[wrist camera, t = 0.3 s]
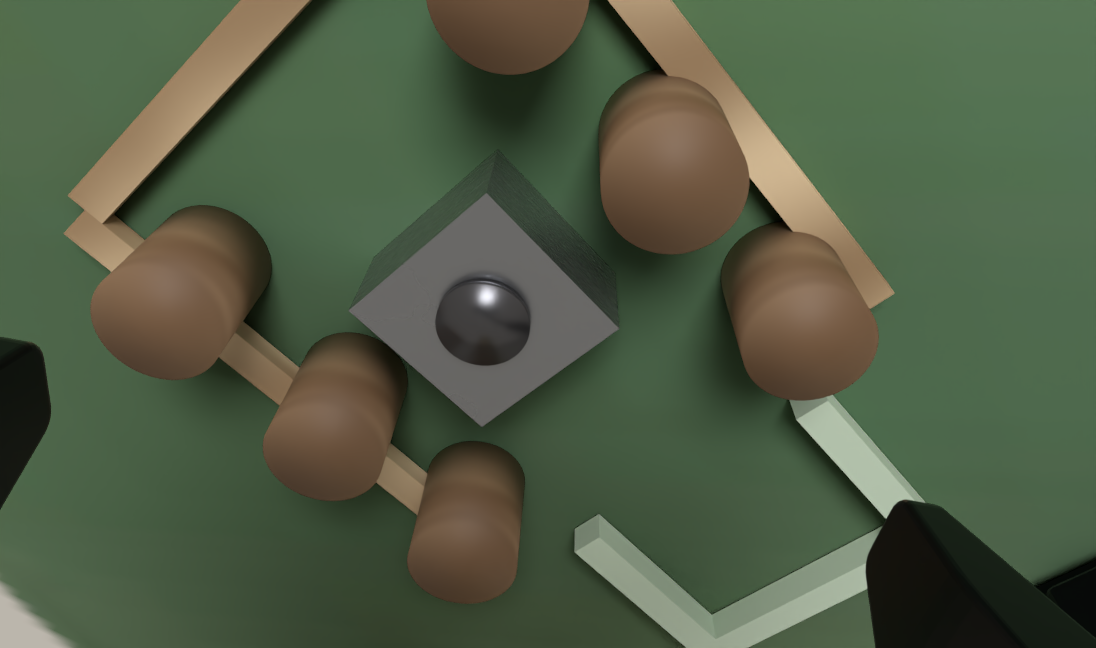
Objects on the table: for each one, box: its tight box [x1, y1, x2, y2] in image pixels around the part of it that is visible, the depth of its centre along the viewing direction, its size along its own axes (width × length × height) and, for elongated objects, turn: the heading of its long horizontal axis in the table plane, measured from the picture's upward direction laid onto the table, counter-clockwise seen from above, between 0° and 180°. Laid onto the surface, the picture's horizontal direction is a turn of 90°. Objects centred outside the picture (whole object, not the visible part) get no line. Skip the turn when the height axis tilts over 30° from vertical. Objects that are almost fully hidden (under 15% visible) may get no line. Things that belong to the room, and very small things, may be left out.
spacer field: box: [64, 0, 894, 604], centre depth 20 cm, size 16×15×4 cm
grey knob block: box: [349, 149, 619, 427], centre depth 21 cm, size 4×4×3 cm
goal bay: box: [574, 395, 925, 648], centre depth 26 cm, size 7×9×1 cm
